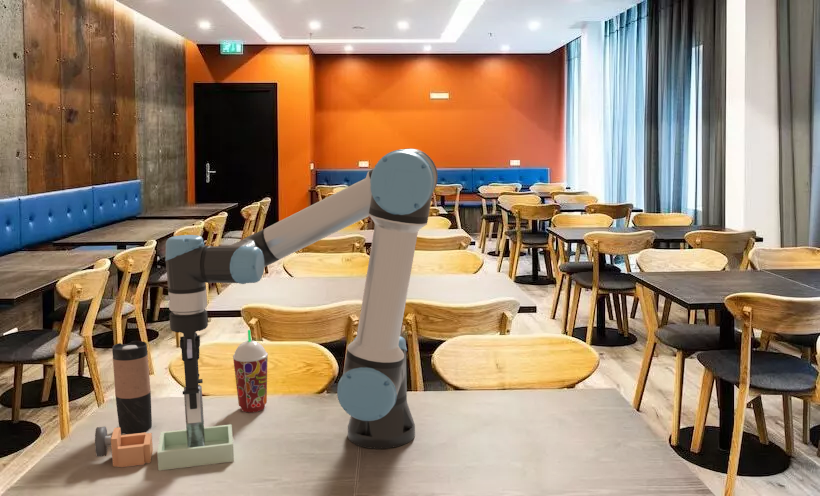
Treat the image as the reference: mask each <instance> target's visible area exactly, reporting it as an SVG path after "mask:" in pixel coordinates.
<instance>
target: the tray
mask: <svg viewBox="0 0 820 496" xmlns="http://www.w3.org/2000/svg"><path fill="white" fill-rule="evenodd" d="M159 434H160V435H159V439H158V447H157V454H156V455H157V467H158V471H165V470H166V471H167V470H173V469H183V468H189V467H199V466H207V465H208V466H209V465H216V464H222V463H233V462H235V457H234V456H235V454H234V452H235V451H234V438H233V425H232V424H223V425H222V424H221V425H213V426H204V436H205V446H199V447H191V448H188V447H187V431H186V428H184V429H175V430H168V431H161V432H159Z"/></svg>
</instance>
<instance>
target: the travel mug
mask: <svg viewBox="0 0 820 496" xmlns="http://www.w3.org/2000/svg"><path fill="white" fill-rule="evenodd" d="M111 350H112V351H111V352H112V365H113V380H114V395H115V404H116V411H117V412H116V413H117V420H118V421H117V422H118V427H120V429H121V434H122V435H127V434H136V433H145V432H146V433H147V432H148V431H149V430H150V429H152V426H153V425H152V424H153V423H152V422H153V421H152V420H153V419H152V395H151V394H152V393H151V392H152V391H151V378H150V367H149V355H148V345H147V342H145V341H142V340H131V341H130V342H129V343H124V344H123V343H121V342H118V343H116V344H114V345H112V349H111Z"/></svg>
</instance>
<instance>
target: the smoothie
mask: <svg viewBox="0 0 820 496" xmlns="http://www.w3.org/2000/svg"><path fill="white" fill-rule="evenodd" d="M251 334H252V332H251V329H248V330H247V338H248V339H247V340H246V341H243V342H242V343H240V344H239V345H237V348H236V349H235V351H234V354H233V355H232V357H233V358H232V359H233V369H234V375H235V384H236V393H237V402H238V406H239V407H240V409H241V411H242V412H244V413H257V412H261V411H262V410H264V409H265V406H266V404H267V403H268V402H267V401H268V355H269V353H268V352H267V351H266V349H265V348H264V346H263V344H261V343H259V341H256V340H252V335H251Z"/></svg>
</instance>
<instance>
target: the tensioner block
mask: <svg viewBox="0 0 820 496" xmlns="http://www.w3.org/2000/svg"><path fill="white" fill-rule="evenodd" d="M109 446H111V459H112V467H118V468H124V467H125V468H126V467H134V466H142V465H144V466H145V464H149V463H151V462H152V458H153V453H154V447H153V434H152V432H147V431H146V432H143V433H136V434H122V433H121V429H120V427H119V426H118V427H114V428H113V431H112V433H111V435H108V429H107V426H99V427H98V426H97V427H96V428H95V432H94V448H95V456H96V457H97V458H99V457H106V456H107V454H108V447H109Z"/></svg>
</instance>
